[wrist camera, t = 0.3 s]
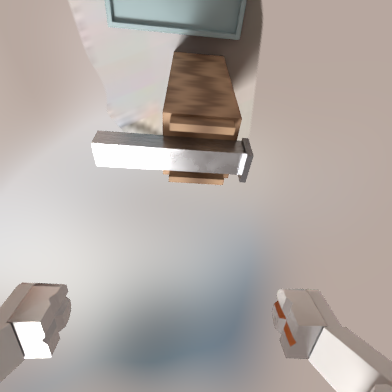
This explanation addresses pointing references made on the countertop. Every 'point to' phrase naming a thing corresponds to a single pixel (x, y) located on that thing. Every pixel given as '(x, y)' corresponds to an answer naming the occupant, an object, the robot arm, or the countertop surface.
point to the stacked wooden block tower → (200, 107)
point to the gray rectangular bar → (172, 153)
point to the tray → (179, 16)
